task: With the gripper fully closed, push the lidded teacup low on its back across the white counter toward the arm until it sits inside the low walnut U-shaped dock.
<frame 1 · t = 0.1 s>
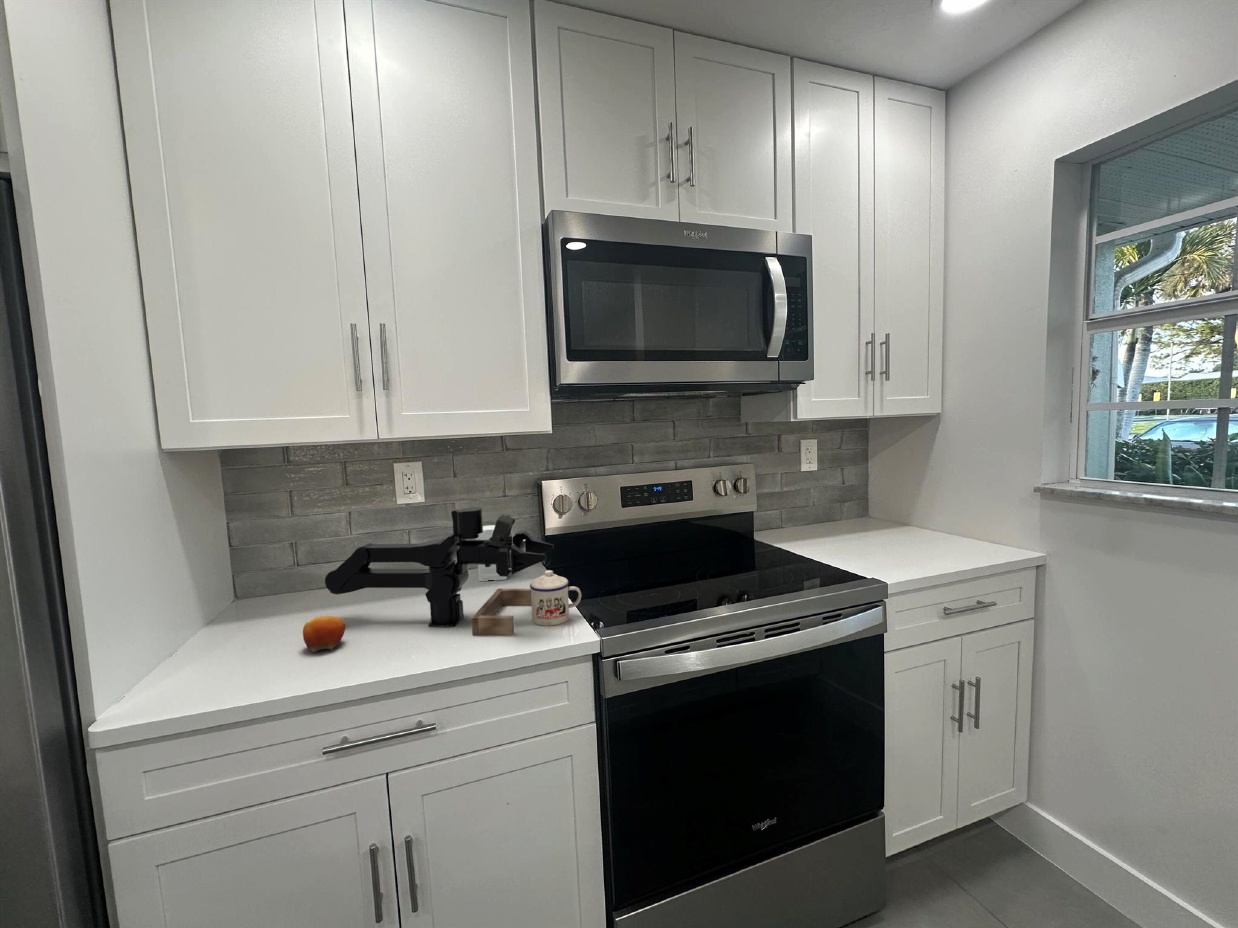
hand: (549, 551, 125), 17 cm above the worktop, tool horizontal, fingers open, 9 cm apart
teacup with lid: (556, 619, 129), on the worktop
fruit: (325, 648, 116), on the worktop
dock: (517, 618, 129), on the worktop
skincare box: (493, 578, 162), on the worktop
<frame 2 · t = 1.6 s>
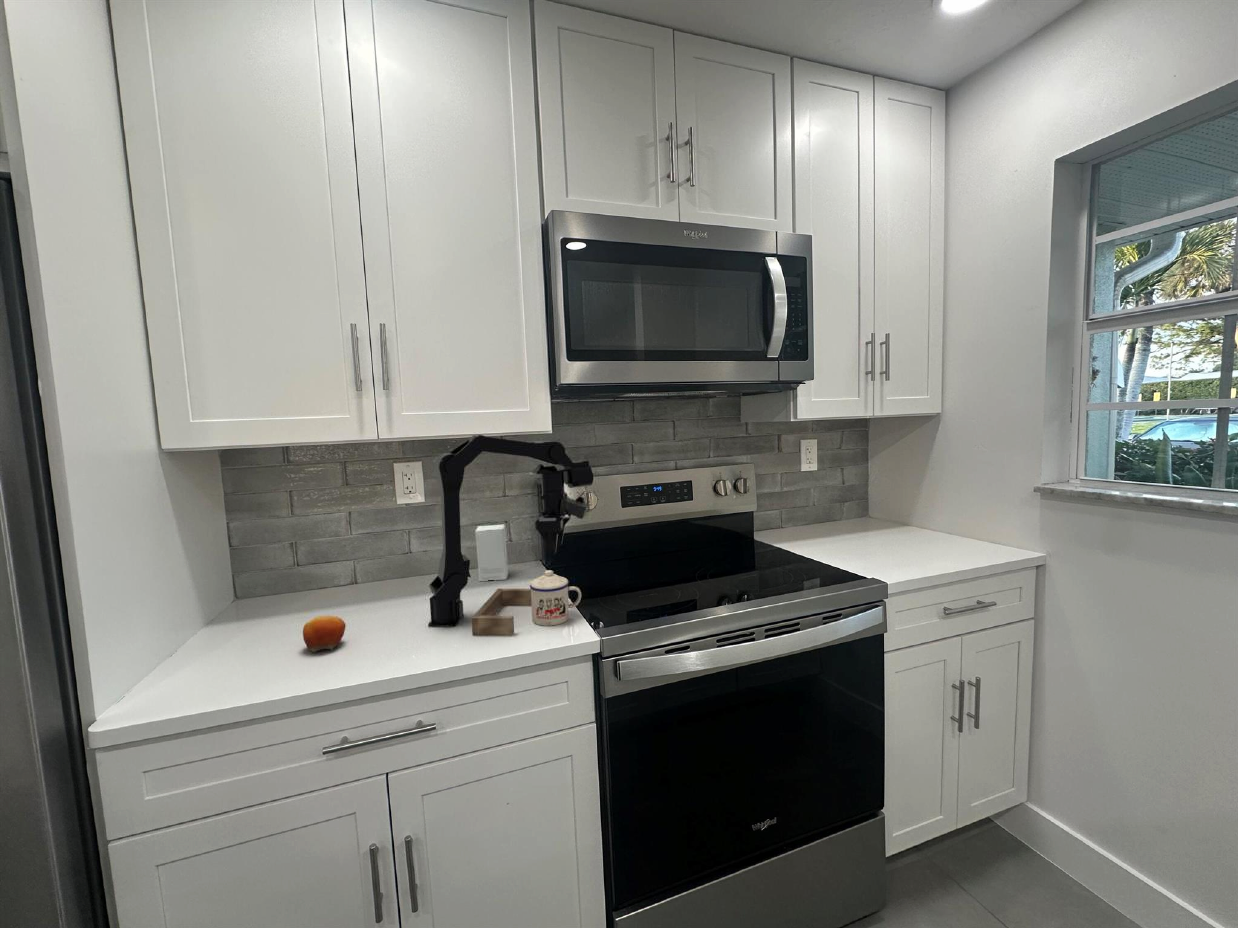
hand: (556, 549, 140), 13 cm above the worktop, tool pointing down, fingers open, 8 cm apart
nothing on the worktop moved.
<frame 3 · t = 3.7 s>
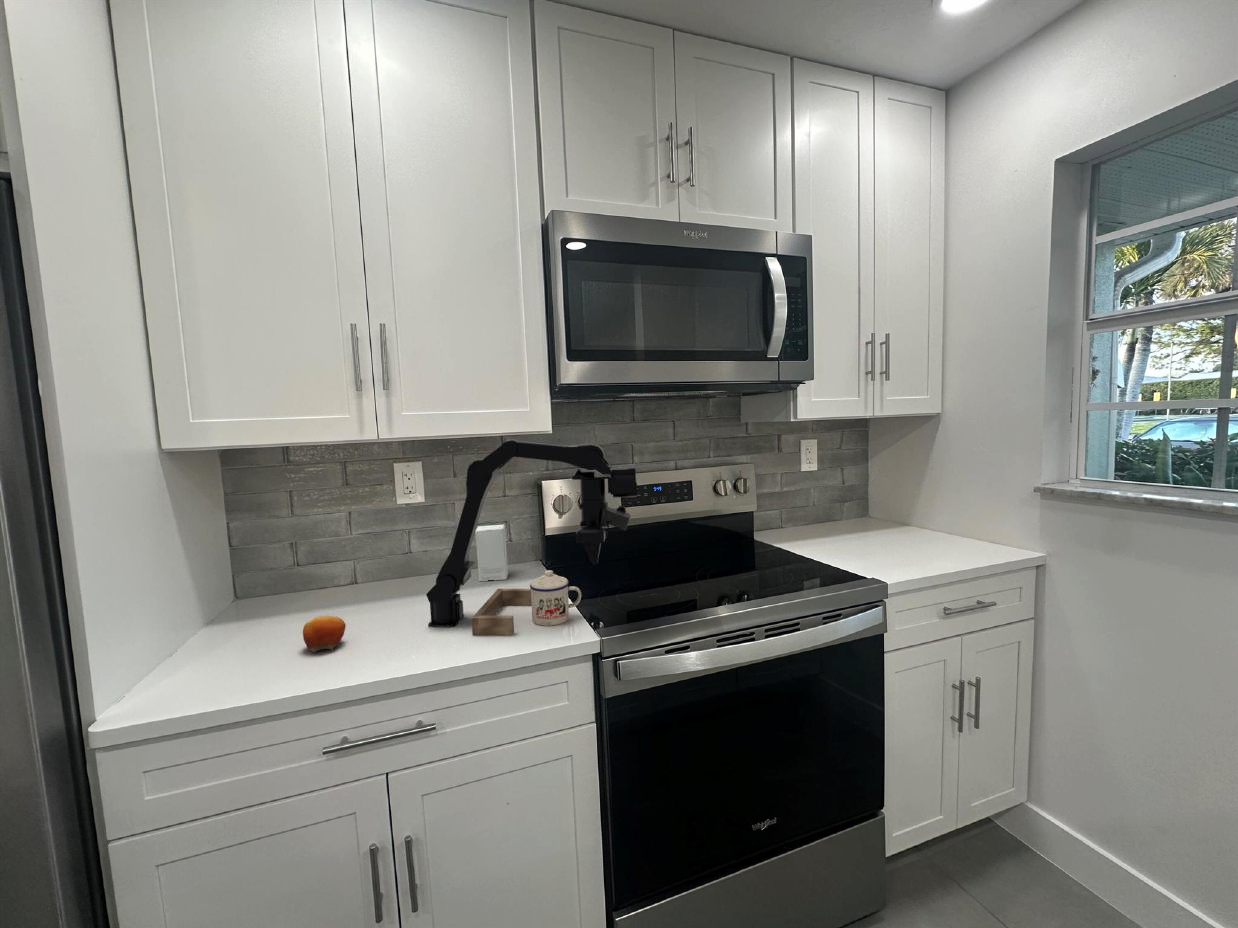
hand: (595, 563, 127), 13 cm above the worktop, tool pointing down, fingers closed
nothing on the worktop moved.
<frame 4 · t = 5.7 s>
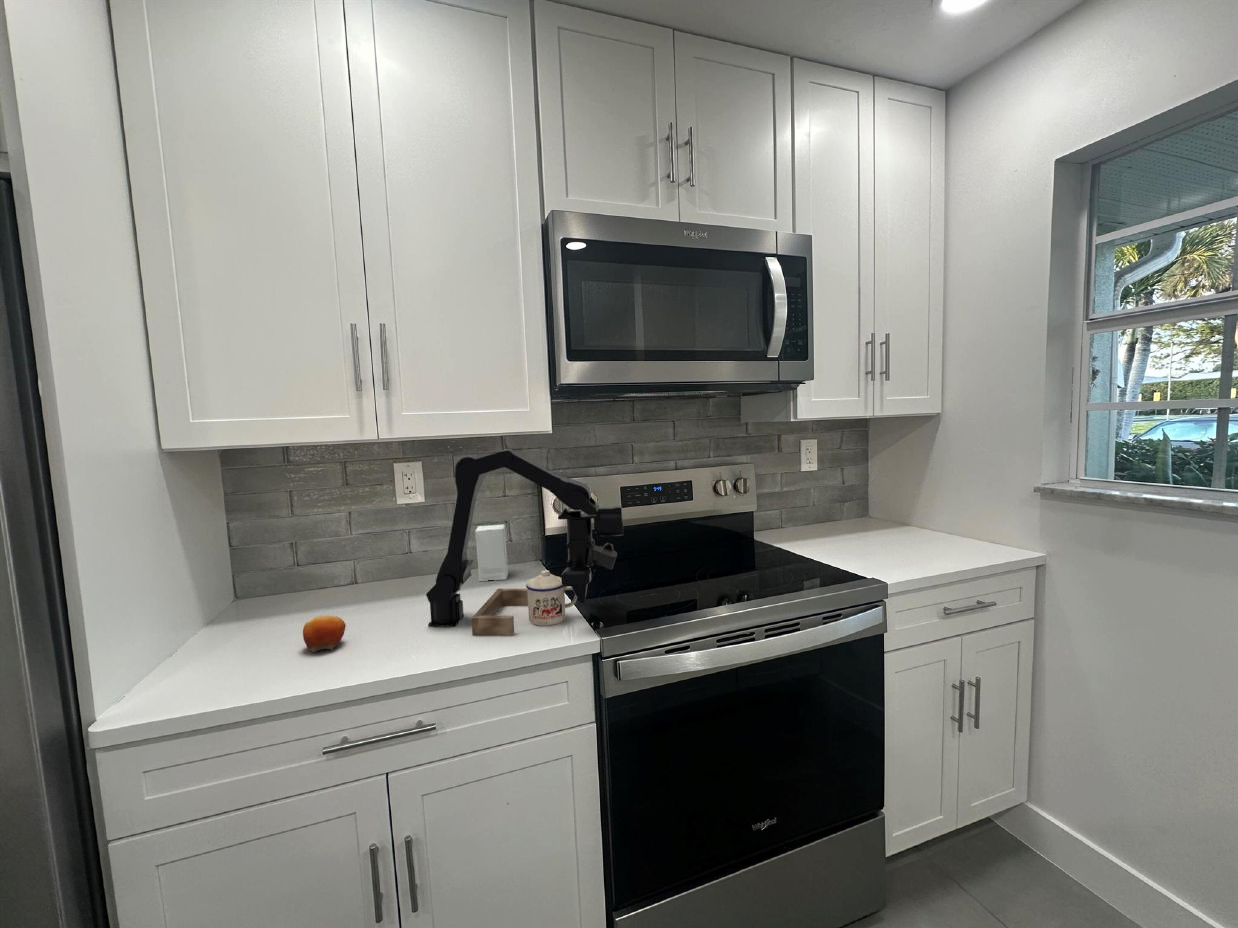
hand: (582, 602, 128), 4 cm above the worktop, tool pointing down, fingers closed
teacup with lid: (553, 619, 129), on the worktop, touching gripper
everything else where it was.
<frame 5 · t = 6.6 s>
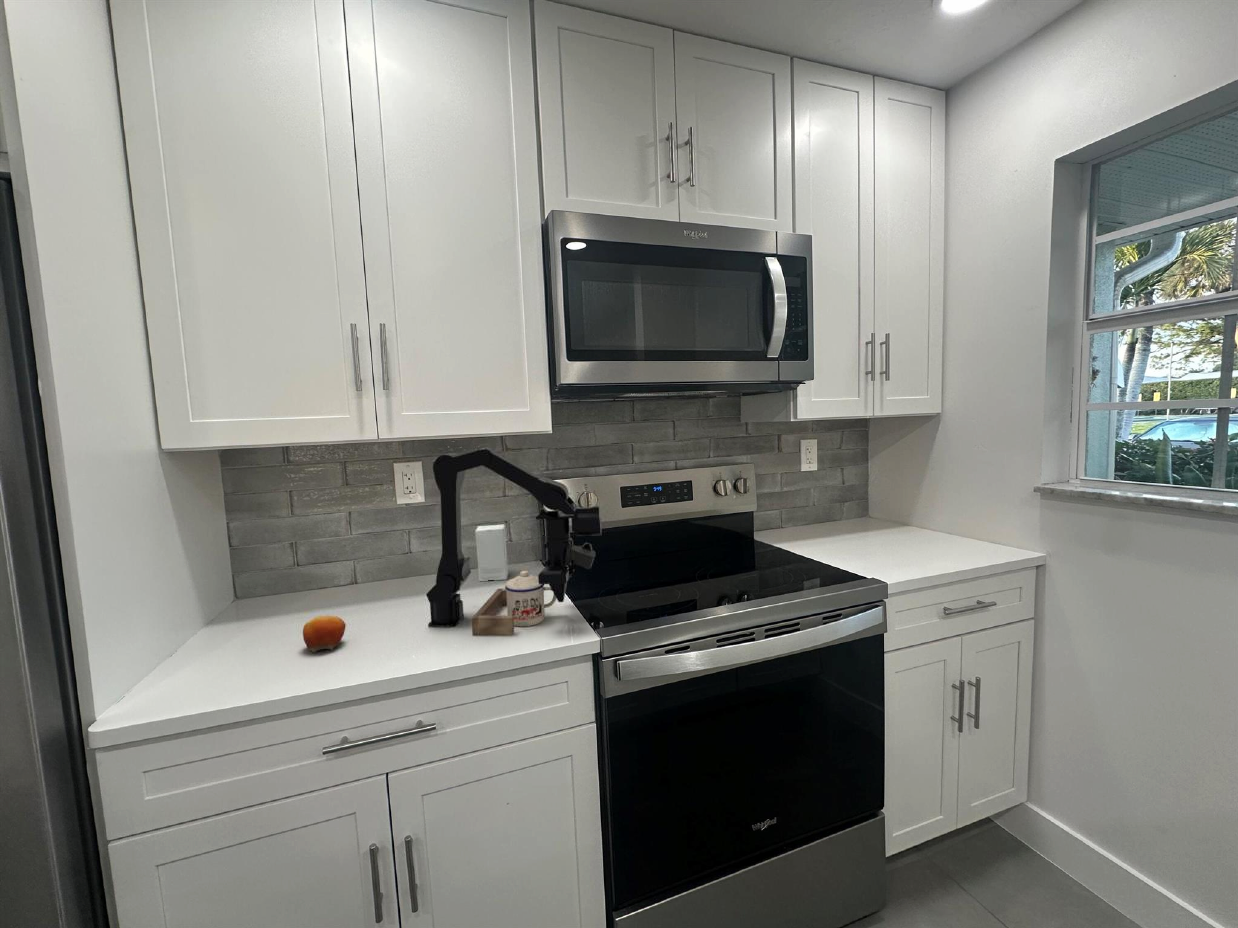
hand: (561, 601, 128), 4 cm above the worktop, tool pointing down, fingers closed
teacup with lid: (532, 619, 129), on the worktop, touching gripper
everything else where it was.
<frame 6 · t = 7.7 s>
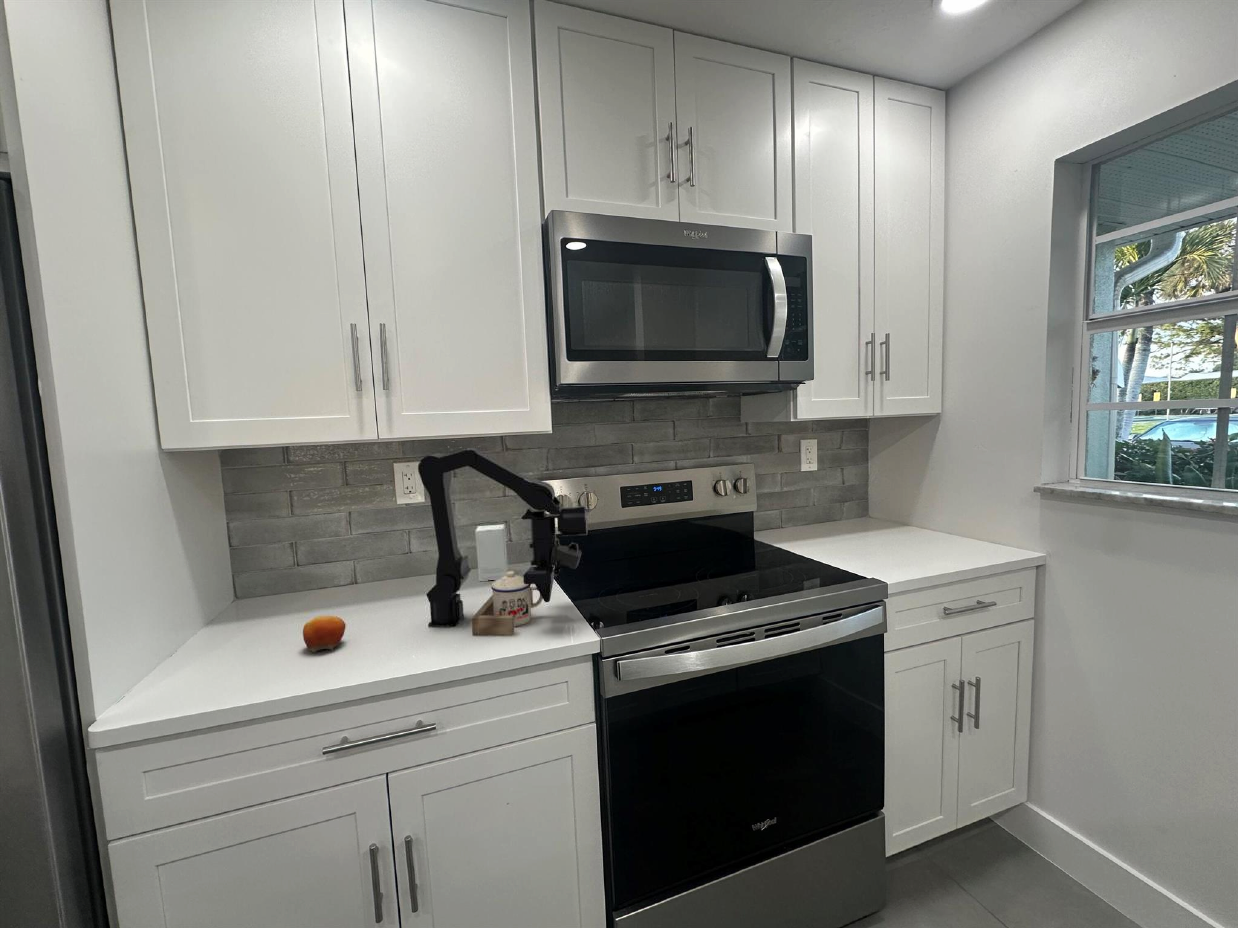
hand: (547, 601, 128), 4 cm above the worktop, tool pointing down, fingers closed
teacup with lid: (519, 619, 129), on the worktop, touching gripper
everything else where it was.
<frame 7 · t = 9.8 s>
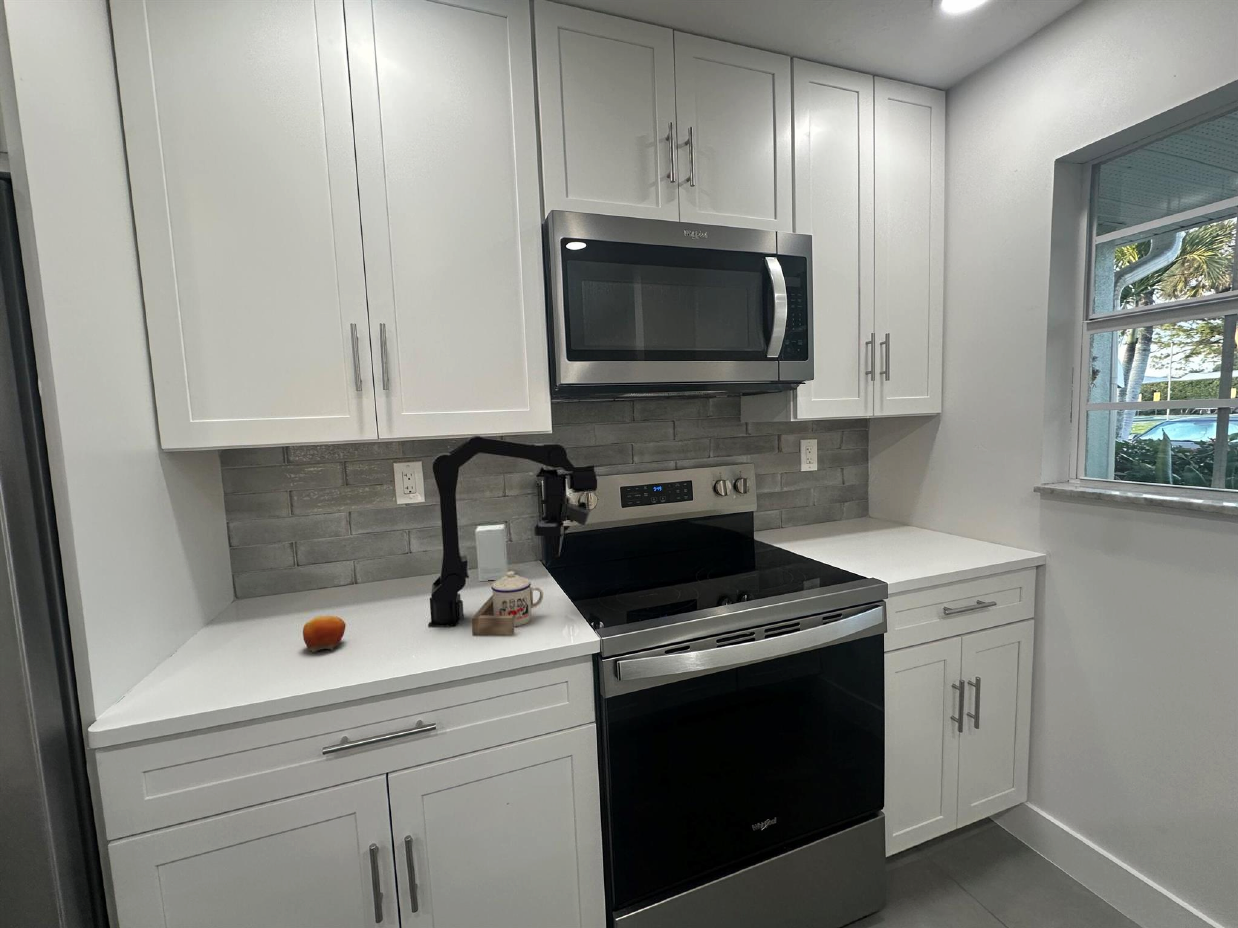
hand: (556, 556, 135), 13 cm above the worktop, tool pointing down, fingers closed
teacup with lid: (519, 620, 129), on the worktop
everything else where it was.
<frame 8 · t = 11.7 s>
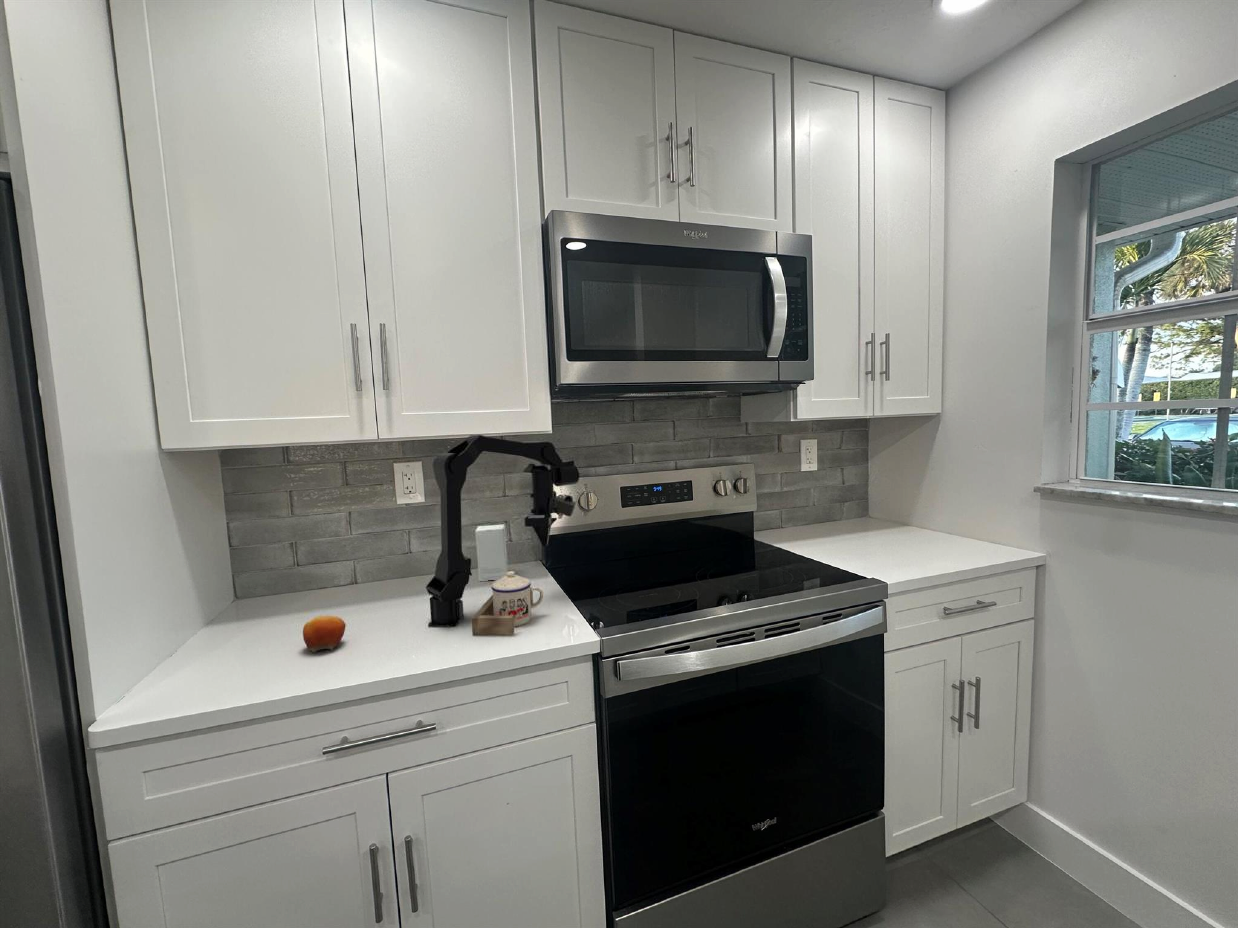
hand: (545, 546, 146), 13 cm above the worktop, tool pointing down, fingers closed
nothing on the worktop moved.
at the end: teacup with lid inside the target area on the dock (0.7 cm from its centre), point 0.0 cm above the dock's base; teacup with lid tilted 0°; teacup with lid moved 9.0 cm from its start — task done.
